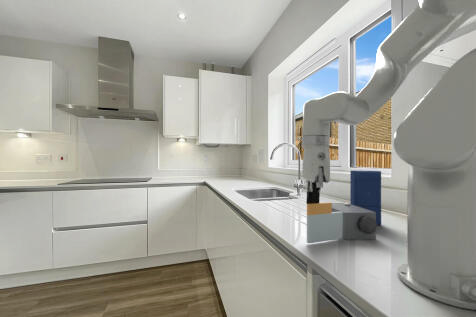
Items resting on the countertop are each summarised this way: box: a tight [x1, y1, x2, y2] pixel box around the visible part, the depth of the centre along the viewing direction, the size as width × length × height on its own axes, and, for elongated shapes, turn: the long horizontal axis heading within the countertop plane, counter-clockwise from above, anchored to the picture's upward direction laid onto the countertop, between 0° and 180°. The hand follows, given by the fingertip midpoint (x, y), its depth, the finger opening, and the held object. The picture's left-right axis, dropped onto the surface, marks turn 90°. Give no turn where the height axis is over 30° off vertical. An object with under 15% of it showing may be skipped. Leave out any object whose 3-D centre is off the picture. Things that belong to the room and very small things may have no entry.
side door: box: [306, 201, 343, 244], centre depth 58 cm, size 12×1×11 cm, turn 108°
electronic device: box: [349, 170, 382, 226], centre depth 77 cm, size 10×5×20 cm, turn 84°
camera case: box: [331, 202, 378, 241], centre depth 67 cm, size 16×10×9 cm, turn 5°
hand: (312, 204), depth 59 cm, fingers closed
